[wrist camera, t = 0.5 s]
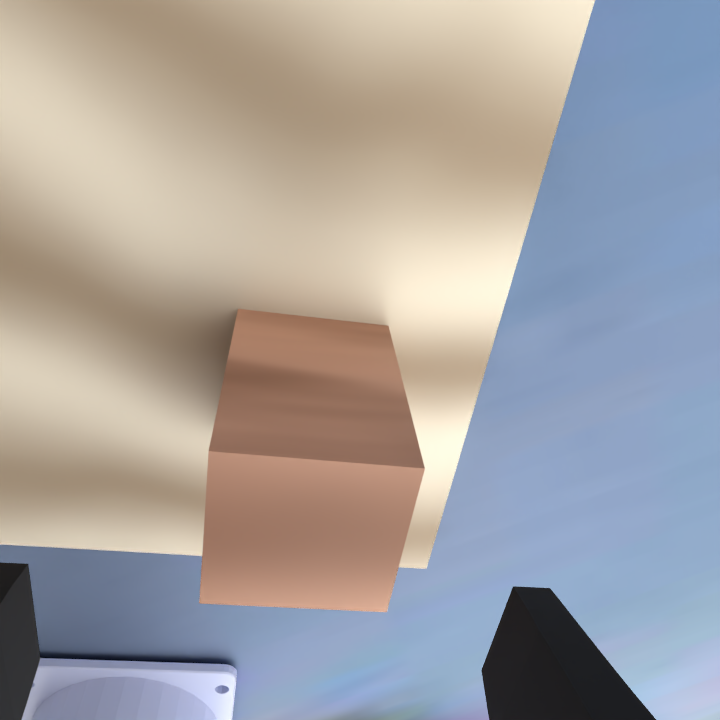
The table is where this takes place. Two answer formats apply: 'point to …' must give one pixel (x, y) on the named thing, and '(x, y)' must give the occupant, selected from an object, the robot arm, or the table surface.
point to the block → (309, 467)
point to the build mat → (249, 227)
